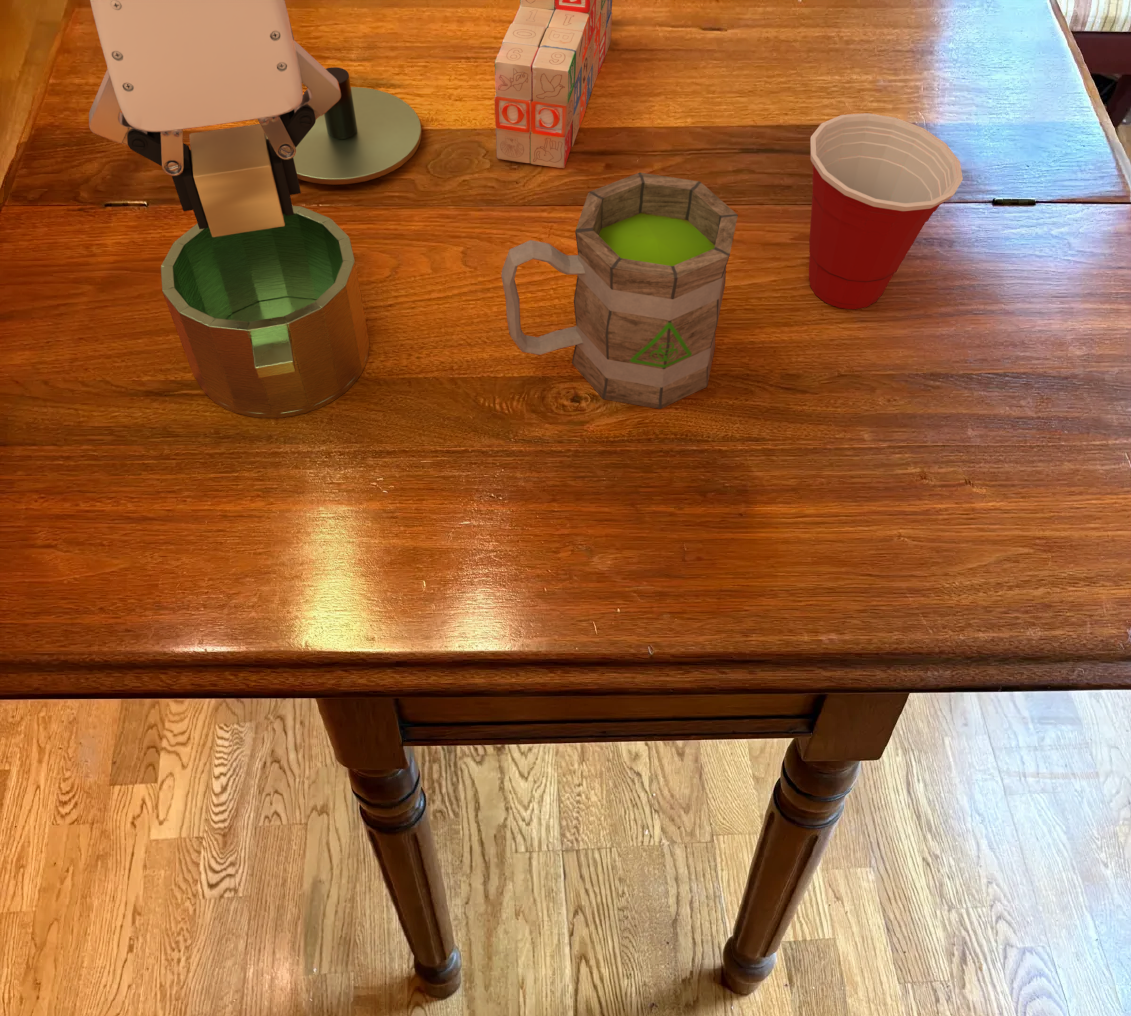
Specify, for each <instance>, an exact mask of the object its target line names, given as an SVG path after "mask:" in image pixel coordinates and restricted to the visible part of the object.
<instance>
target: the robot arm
mask: <svg viewBox="0 0 1131 1016" xmlns="http://www.w3.org/2000/svg"><path fill="white" fill-rule="evenodd" d="M89 3H90V6H91V10H92V15H93V21H94V23H95V24H94V25H95V27H96V31H97V36H98V38H99V43H100V47H101V49H102V53H103V57H104V60H105V64H106V67H107V69H106V71H105V73H104V76H103V79H102V81H101V83H100V85H99V87H98V90H97V92H96V95H95V98H94V100H93V102H92V105H91V107H90V110H89V111H88V128H89V130H90V131H91V133H93V134H94V135H97V136H99V137H101V138H104V139H106V140H109V141H112V142H114V143H117V144H120V145H125V146H128V148H129V149H130V150H131V151H133V152H135V153H136V154H138V155H140V156H142V157H144V158H146V159H148V160H150V161H151V162H152V163H155V164H157V165H159V166H161V168H162V171H163V173H164V174H166V175H168V176H170V177H171V178H172V182H173V184H174V187H175V191H176V193H177V196H178V198H179V203H180V205H181V208H182V211H183V212H188V211H193V213H194V216H195V220H196V224H197V223H198V226H199V229H205V228H208V226H209V225H208V222H207V219H206V216H205V212H204V209H203V206H202V203H201V200H200V196H199V193H198V190H197V187H196V184H195V180H194V177H193V167H192V157H191V148H190V144H186V143H184V130H189V129H195V128H196V129H197V128H204V127H211V126H218V125H225V124H226V125H227V124H232V123H240V122H246V121H247V122H248V121H252V120H253V121H255V120H257V121H258V124H260V125H261V127H262V128H263V130H264V132H265V134H266V136H267V138H268V139H267V145H268V151H269V157H270V163H271V167H272V172H273V176H274V180H275V184H276V188H277V192H278V196H279V201H280V205H281V209H282V213H283V214H285V215H286V216H289V215H294V212H293V207H292V206H293V202H292V196H294V195H301V193H302V192H301V187H300V186H301V185H300V183H299V179H298V177H297V172H296V168H295V163H294V159H293V157H294V156H295V154H296V147H297V146H298V144H299V143H300V142H301V141H302V139H303V138H304V137H305V136H306V134H307V133H308V132H309V131H310V130H311V128H312V127H313V126H314V124H315V122H316V119H317V118H318V117H319V116H322V115H323V114H324V113H326V112H327V111H328V110H329V109H330V108H331V107H332V106H333V105H334V104H336V103H337V102H338V101H339V100H340V98H341V92H340V88H339V84H338V81H337V79H336V78H335V77H334V76H333V75H332V74H330V73H329V72H328V71H327V70H326V68H325V67H324V66H323V64H321V63H320V62H319V61H317V60H316V59H315V57H314V56H312V55H311V54H310V53H309V52H308V51H307V50H306V49H305V48H304V47H303V46H301V45H300V44H299V42H297V40H295V37H294V33H293V28H292V24H291V21H290V16H289V12H288V9H287V5H286V1H285V0H89ZM303 85H304V87H306V88H307V89H306V90H304V91H303ZM303 93H304V94H303Z"/></svg>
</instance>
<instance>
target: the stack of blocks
mask: <svg viewBox="0 0 1131 1016" xmlns="http://www.w3.org/2000/svg"><path fill="white" fill-rule="evenodd" d="M612 11H613V0H519V6H518V9H517V11H516V13H515V16H514V18H513V20H512V23H510V24H509V26H508V28H507V31H506V33H505V35H504V37H503V38H502V39H503V40H502V42H501V46H500V49H499V51H498V52H497V56H496V57H495V60H494V84H495V85H494V87H495V88H494V89H495V95H494V101H493V102H494V125H495V147H496V159H498V160H503V161H504V160H505V161H510V162H517V163H524V164H531V165H535V166H536V165H538V166H544V167H551V168H558V169H565V167H566V164H567V161H568V158H569V155H570V153H571V149H572V148H573V147H574V144H575V141H576V138H577V135H578V133H579V129H580V128H581V125H582V123H583V119H584V116H585V114H586V111H587V110H586V109H587V106H588V103H589V100H590V97H591V95H592V91H593V89H594V86H595V83H596V80H597V78H598V75H599V73H600V71H601V69H602V66H603V64H604V61H605V57H606V56H607V54H608V51H609V48H610V45H611V41H612V24H613V22H612V21H613V12H612Z"/></svg>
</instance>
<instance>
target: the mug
mask: <svg viewBox="0 0 1131 1016" xmlns="http://www.w3.org/2000/svg"><path fill="white" fill-rule="evenodd" d="M738 216H739V214H737V213H736V212H735V211H734V210H733V209H732V208H731V207H730V206H729V205H728V204H726V203H725V202H724V201H723V200H721V198H720V197H718V196H717V195H716V194H715V193H714V192H713V191H711V190H710V189H709V188H708V187H707V186H706V185H705V184H704V183H702V182H701V181H700V180H692V179H687V178H686V179H685V178H679V177H673V176H667V175H661V174H652V173H646V172H637V173H635V174H632V175H629V176H626V177H624V178H621V179H618V180H617V181H616V180H615V181H614V182H611V183H609V184H606V185H604V186H601V187H598V188H595V189H593V190H591V191H588V192H587V195H586V199H585V202H584V204H583V206H582V210H581V213H580V216H579V218H578V222H577V225H576V228H575V231H574V232H575V239H576V250H577V254H570V255H569V254H565V253H564V252H562V251H560V250H559V249H557V248H556V247H554V246H553V245H552V244H551V243H549V242H543V241H537V240H532V239H529V240H527V241H525V242H523V243H521V244H519V245H516V246H514V247H512V248H509V249H508V253H507V255H506V257H505V260H504V263H503V266H502V269H501V281H502V287H503V292H504V298H505V309H506V311H505V312H506V321H507V328H508V335H509V336H510V338H511V339H512V341H513V342H514V343H515V345H516V347H518V349H519V350H520V352H521V353H524V354H525V353H526V354H532V355H535V356H541V355H545V354H547V353H551V352H554V351H558V350H561V349H566V348H571V347H574V350H573V355H572V360H571V364H572V365H573V366H574V368H575V369H576V370H577V372H578V373H580V375H581V376H582V377H583V379H585V380H586V381H587V383H588V384H589V385H590V386H591V387H592V388H593V389H594V390H595V392H596V393H597V394H598V395H599V396H600V397H601V399H602V400H608V401H612V402H618V403H624V404H628V405H629V404H630V405H635V406H641V407H647V408H653V409H659V410H661V409H663V408H666V407H667V406H669V405H672V404H674V403H676V402H678V401H681V400H682V399H684V398H687V397H689V396H691V395H693V394H695V393H697V392H699V391H702V390H703V389H705V388H707V387H708V386H709V380H710V375H711V370H712V364H713V361H714V354H715V350H716V331H717V327H718V322H719V318H720V313H721V308H722V303H723V299H724V294H725V288H726V280H727V279H726V278H727V265H728V262H729V259H730V255H731V251H732V246H733V242H734V241H733V240H734V235H735V232H736V226H737V221H738ZM531 260H536V261H539V262H544V263H547V264H549V265H550V266H551V267H553V268H554V269H555V270H556V271H558V272H559V273H562V274H563V275H566V276H567V275H568V276H569V275H570V276H571V275H573V276H575V275H576V276H577V277H576V282H575V290H574V296H573V308H574V309H573V310H574V316H575V318H574V319H575V325H574V326H570V327H566V328H562V329H558V330H557V329H556V330H553V331H550V332H548V333H545V334H543V335H540V336H532V335H527V334H525V333H524V332H523V330H522V325H521V306H520V304H521V303H520V295H519V291H518V287H517V284H516V280H515V278H516V274H517V270H518V266H520V265H523V264H525V263H527V262H530V261H531Z"/></svg>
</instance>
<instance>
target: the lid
mask: <svg viewBox="0 0 1131 1016" xmlns="http://www.w3.org/2000/svg"><path fill="white" fill-rule="evenodd" d="M325 69H326V70H327V71H328V72H329V73H330V74H332V75H333V76H334V77H335V78H336V79H337V81H338V84H339V88H340V92H341V98H340V100H339V101H338V102H337V103H336V104H334V105H333V106H332V107H331V108H330V109H329V110H328V111H327V112H326V113H324V114H323V115H322V116H319V117H318V118H317V119H316V122H315V124H314V126H313V127H312V128H311V130H310V131H309V132H308V133H307V134H306V136H305V137H304V138H303V139H302V141H301V142H300V143H299V144H298V146H297V147H296V154H295V156H294V157H293V159H294V163H295V168H296V172H297V177H298V180H301V181H303V182H308V183H313V184H319V185H330V186H331V185H333V186H334V185H335V186H336V185H337V186H338V185H352V184H359V183H364V182H368V181H371V180H376V179H378V178H380V177H383V176H386V175H388V174H389V173H392V172H394V171H395V170H397V169H399V168H401V167H402V166H403V165H404V164H406V163H407V162H408V161H409V160H410V159H411V158H412V157H413V156H414V155H415V153H416V152H417V150H418V149H419V146H420V145H421V141H422V131H423V130H422V124H421V120H420V118H419V116H418V114H417V113H416V110H414V109H413V107H412V106H411V105H410V104H408V103H407V102H406V101H405V100H403V99H401V98H399V97H397V95H394V94H391V93H389V92H386V91H383V90H379V89H374V88H370V87H363V86H362V87H359V86H352V85H351V79H350V74H349V72H348V71H347V70H346V69H345V68H343V67H336V66H333V67H332V66H331V67H327V68H325ZM266 137H267V136H266ZM267 139H268V138H267Z"/></svg>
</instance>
